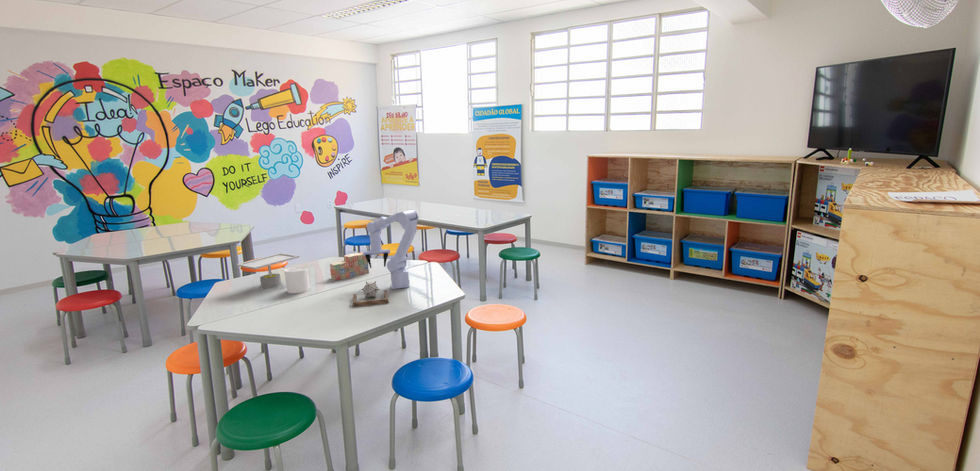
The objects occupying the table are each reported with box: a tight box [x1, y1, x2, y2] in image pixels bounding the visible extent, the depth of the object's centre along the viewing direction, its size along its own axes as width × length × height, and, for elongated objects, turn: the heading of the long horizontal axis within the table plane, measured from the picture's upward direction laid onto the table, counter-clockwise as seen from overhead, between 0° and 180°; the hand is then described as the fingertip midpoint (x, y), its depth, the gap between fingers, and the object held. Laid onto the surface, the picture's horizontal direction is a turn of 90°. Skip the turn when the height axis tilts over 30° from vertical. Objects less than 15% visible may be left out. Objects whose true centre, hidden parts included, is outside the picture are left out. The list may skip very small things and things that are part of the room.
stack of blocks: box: [329, 251, 370, 281], centre depth 295 cm, size 21×6×12 cm, turn 131°
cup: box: [283, 265, 311, 295], centre depth 270 cm, size 12×12×12 cm
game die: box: [361, 281, 381, 299], centre depth 255 cm, size 9×8×10 cm
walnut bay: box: [352, 289, 390, 308], centre depth 250 cm, size 17×14×2 cm
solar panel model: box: [236, 252, 300, 289], centre depth 280 cm, size 28×17×15 cm, turn 148°
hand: (377, 267), depth 277 cm, fingers open, 7 cm apart
